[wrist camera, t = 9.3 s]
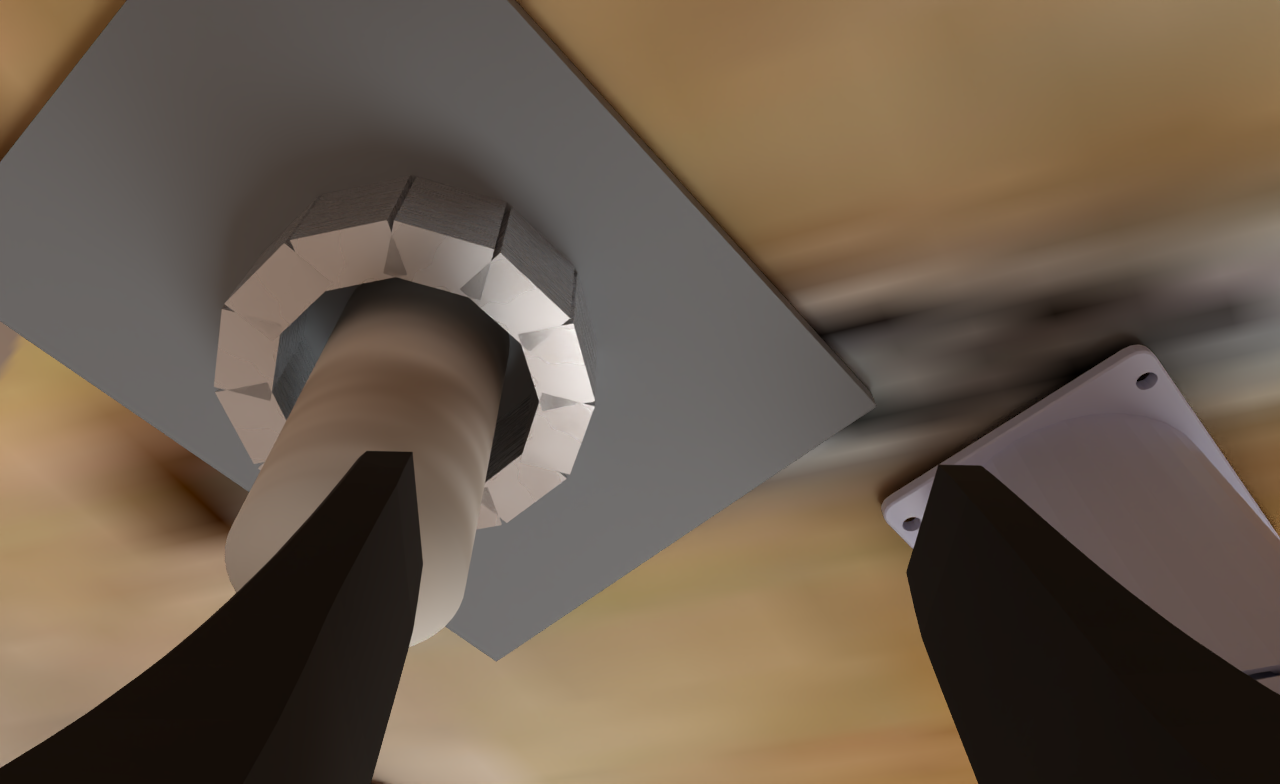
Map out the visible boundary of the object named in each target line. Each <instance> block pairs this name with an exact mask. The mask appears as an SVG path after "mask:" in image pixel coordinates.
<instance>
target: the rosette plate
mask: <svg viewBox="0 0 1280 784" xmlns="http://www.w3.org/2000/svg"><path fill="white" fill-rule="evenodd" d="M409 175H411V178H412V181H413V182H414V180H415V178H416V176H420V177H423V178H427V179H430V180H434V181H437V182H440V183H444V184H447V185H450V186H454V187H457V188H460V189H464V190H467V191H470V192H474V193H477V194H480V195H484V196H487V197H490V198H494V199H497V200H500V201H504V202H507V203H506V207H505V211H504V213H505V212H506V211H507V210H508V209H509V208H510V207H511V206H513V207H514V208H515V209H516V210H517V211H518V212H519V213H520V214H521V215H522V216H523V217H524V218H525V219H526V220H527V221H529V222H530V223H531V224H532V225H533V226H534V227H535V228H536V229H537V230H538V231H539V232H540V233H541V234H542V235H543V236H544V237H545V238H546V239H547V240H548V241H549V242H550V243H551V244H552V245H553V246H554V247H555V248H556V249H557V250H558V251H559V252H560V253H561V254H562V255H563V256H564V257H565V258H566V259H568V260H569V261H570V262H571V263H572V264H573V265H574V266H575V268H574V272H577V271H578V275H579V279H580V282H581V286H582V290H583V294H584V297H585V301H586V305H587V309H588V312H589V316H590V320H591V324H592V327H593V331H594V335H595V339H596V342H597V360H596V389H595V407H594V410H593V413H592V416H591V418H590V421H589V424H588V427H587V429H586V432H585V435H584V437H583V440H582V443H581V446H580V448H579V451H578V454H577V457H576V459H575V462H574V465H573V467H572V470H571V473H570V475H569V474H567V479H566V480H564V481H563V482H562V483H560V484H559V485H558V486H556V487H555V488H553V489H552V490H551V491H549V492H548V493H547V494H545V495H544V496H543V497H541V498H540V499H539V500H537V501H536V502H535V503H533V504H532V505H531V506H529V507H528V508H526V509H525V510H524V511H522V512H521V513H520V514H518V515H517V516H516V517H514V518H513V519H512V520H510V521H509V522H508V523H506V522H505V521H504V520H503V521H502V525H499V526H494V527H488V528H482V529H476V534H475V539H474V545H473V550H472V555H471V561H470V566H469V571H468V577H467V582H466V588H465V592H464V597H463V600H462V602H461V604H460V607H459V609H458V610H457V612H456V614H455V615H454V617H453V618H452V619H451V620H450V621H449V622H448V624H447V625H446V626H445V627H447V628H448V629H450V630H451V631H453V632H454V633H456V634H457V635H458V636H460V637H461V638H463V639H464V640H466V641H467V642H469V643H470V644H472V645H473V646H474V647H476V648H477V649H479V650H480V651H482V652H483V653H485V654H486V655H488V656H489V657H491V658H492V659H493V660H495V661H498V660H499V659H501V658H502V657H504V656H505V655H507V654H508V653H510V652H511V651H513V650H514V649H516V648H517V647H519V646H520V645H522V644H523V643H525V642H526V641H528V640H529V639H531V638H532V637H534V636H535V635H537V634H538V633H540V632H541V631H543V630H544V629H546V628H547V627H549V626H550V625H552V624H553V623H554V622H556V621H557V620H559V619H560V618H562V617H563V616H565V615H566V614H568V613H569V612H571V611H572V610H574V609H575V608H577V607H578V606H580V605H581V604H583V603H584V602H586V601H587V600H589V599H590V598H592V597H593V596H595V595H596V594H598V593H599V592H601V591H602V590H604V589H605V588H607V587H608V586H610V585H611V584H613V583H614V582H616V581H617V580H619V579H620V578H622V577H623V576H624V575H626V574H627V573H629V572H630V571H632V570H633V569H635V568H636V567H638V566H639V565H641V564H642V563H644V562H645V561H647V560H648V559H650V558H651V557H653V556H654V555H656V554H657V553H659V552H660V551H662V550H663V549H665V548H666V547H668V546H669V545H671V544H672V543H674V542H675V541H677V540H678V539H680V538H681V537H683V536H684V535H686V534H687V533H689V532H690V531H692V530H693V529H694V528H696V527H697V526H699V525H700V524H702V523H703V522H705V521H706V520H708V519H709V518H711V517H712V516H714V515H715V514H717V513H718V512H720V511H721V510H723V509H724V508H726V507H727V506H729V505H730V504H732V503H733V502H735V501H736V500H738V499H739V498H741V497H742V496H744V495H745V494H747V493H748V492H750V491H751V490H753V489H754V488H756V487H757V486H759V485H760V484H762V483H763V482H765V481H766V480H767V479H769V478H770V477H772V476H773V475H775V474H776V473H778V472H779V471H781V470H782V469H784V468H785V467H787V466H788V465H790V464H791V463H793V462H794V461H796V460H797V459H799V458H800V457H802V456H803V455H805V454H806V453H808V452H809V451H811V450H812V449H814V448H815V447H817V446H818V445H820V444H821V443H823V442H824V441H826V440H827V439H829V438H830V437H832V436H833V435H835V434H836V433H837V432H839V431H840V430H842V429H843V428H845V427H846V426H848V425H849V424H851V423H852V422H854V421H855V420H857V419H858V418H860V417H861V416H863V415H864V414H866V413H867V412H869V411H870V410H872V409H873V408H875V407H876V406H877V405H876V403H875V401H874V398H873V396H872V394H871V392H870V391H869V390H868V389H867V388H866V387H865V386H864V385H863V383H862V382H861V381H860V380H859V379H858V378H857V377H856V376H855V375H854V374H853V372H852V371H851V370H850V369H849V368H848V367H847V366H846V365H845V364H844V363H843V361H842V360H841V359H840V358H839V357H838V356H837V355H836V354H835V353H834V351H833V350H832V349H831V348H830V347H829V346H828V345H827V344H826V343H825V342H824V340H823V339H822V338H821V337H820V336H819V335H818V334H817V333H816V332H815V331H814V329H813V328H812V327H811V326H810V325H809V324H808V323H807V322H806V321H805V319H804V318H803V317H802V316H801V315H800V314H799V313H798V312H797V311H796V310H795V308H794V307H793V306H792V305H791V304H790V303H789V302H788V301H787V300H786V299H785V297H784V296H783V295H782V294H781V293H780V292H779V291H778V290H777V289H776V287H775V286H774V285H773V284H772V283H771V282H770V281H769V280H768V279H767V278H766V276H765V275H764V274H763V273H762V272H761V271H760V270H759V269H758V268H757V267H756V265H755V264H754V263H753V262H752V261H751V260H750V259H749V258H748V257H747V255H746V254H745V253H744V252H743V251H742V250H741V249H740V248H739V247H738V246H737V244H736V243H735V242H734V241H733V240H732V239H731V238H730V237H729V236H728V235H727V233H726V232H725V231H724V230H723V229H722V228H721V227H720V226H719V225H718V223H717V222H716V221H715V220H714V219H713V218H712V217H711V216H710V215H709V214H708V212H707V211H706V210H705V209H704V208H703V207H702V206H701V205H700V204H699V203H698V201H697V200H696V199H695V198H694V197H693V196H692V195H691V194H690V193H689V191H688V190H687V189H686V188H685V187H684V186H683V185H682V184H681V183H680V182H679V180H678V179H677V178H676V177H675V176H674V175H673V174H672V173H671V172H670V171H669V169H668V168H667V167H666V166H665V165H664V164H663V163H662V162H661V161H660V159H659V158H658V157H657V156H656V155H655V154H654V153H653V152H652V151H651V150H650V148H649V147H648V146H647V145H646V144H645V143H644V142H643V141H642V140H641V139H640V137H639V136H638V135H637V134H636V133H635V132H634V131H633V130H632V129H631V127H630V126H629V125H628V124H627V123H626V122H625V121H624V120H623V119H622V118H621V116H620V115H619V114H618V113H617V112H616V111H615V110H614V109H613V108H612V107H611V105H610V104H609V103H608V102H607V101H606V100H605V99H604V98H603V97H602V95H601V94H600V93H599V92H598V91H597V90H596V89H595V88H594V87H593V86H592V84H591V83H590V82H589V81H588V80H587V79H586V78H585V77H584V76H583V75H582V73H581V72H580V71H579V70H578V69H577V68H576V67H575V66H574V65H573V63H572V62H571V61H570V60H569V59H568V58H567V57H566V56H565V55H564V54H563V52H562V51H561V50H560V49H559V48H558V47H557V46H556V45H555V44H554V43H553V41H552V40H551V39H550V38H549V37H548V36H547V35H546V34H545V33H544V32H543V30H542V29H541V28H540V27H539V26H538V25H537V24H536V23H535V22H534V20H533V19H532V18H531V17H530V16H529V15H528V14H527V13H526V12H525V11H524V9H523V8H522V7H521V6H520V5H519V4H518V3H517V2H516V1H515V0H127V1H126V2H125V3H124V5H123V6H122V7H121V8H120V10H119V11H118V12H117V14H116V15H115V16H114V17H113V19H112V20H111V21H110V22H109V24H108V25H107V26H106V28H105V29H104V30H103V31H102V33H101V34H100V35H99V37H98V38H97V39H96V40H95V42H94V43H93V44H92V45H91V47H90V48H89V49H88V51H87V52H86V53H85V54H84V56H83V57H82V58H81V60H80V61H79V62H78V63H77V65H76V66H75V67H74V68H73V70H72V71H71V72H70V74H69V75H68V76H67V77H66V79H65V80H64V81H63V83H62V84H61V85H60V86H59V88H58V89H57V90H56V91H55V93H54V94H53V95H52V97H51V98H50V99H49V100H48V102H47V103H46V104H45V106H44V107H43V108H42V109H41V111H40V112H39V113H38V114H37V116H36V117H35V118H34V120H33V121H32V122H31V123H30V125H29V126H28V127H27V129H26V130H25V131H24V132H23V134H22V135H21V136H20V137H19V139H18V140H17V141H16V143H15V144H14V145H13V146H12V148H11V149H10V150H9V152H8V153H7V154H6V155H5V157H4V158H3V159H2V160H1V162H0V321H1V322H2V323H3V324H5V325H7V326H8V327H9V328H11V329H12V330H14V331H15V332H17V333H18V334H20V335H21V336H22V337H24V338H25V339H27V340H28V341H30V342H31V343H33V344H34V345H36V346H37V347H38V348H40V349H41V350H43V351H44V352H46V353H47V354H49V355H50V356H52V357H53V358H55V359H56V360H57V361H59V362H60V363H62V364H63V365H65V366H66V367H68V368H69V369H71V370H72V371H73V372H75V373H76V374H78V375H79V376H81V377H82V378H84V379H85V380H87V381H88V382H90V383H91V384H92V385H94V386H95V387H97V388H98V389H100V390H101V391H103V392H104V393H106V394H107V395H108V396H110V397H111V398H113V399H114V400H116V401H117V402H119V403H120V404H122V405H123V406H125V407H126V408H127V409H129V410H130V411H132V412H133V413H135V414H136V415H138V416H139V417H141V418H142V419H143V420H145V421H146V422H148V423H149V424H151V425H152V426H154V427H155V428H157V429H158V430H160V431H161V432H162V433H164V434H165V435H167V436H168V437H170V438H171V439H173V440H174V441H176V442H177V443H178V444H180V445H181V446H183V447H184V448H186V449H187V450H189V451H190V452H192V453H193V454H195V455H196V456H197V457H199V458H200V459H202V460H203V461H205V462H206V463H208V464H209V465H211V466H212V467H213V468H215V469H216V470H218V471H219V472H221V473H222V474H224V475H225V476H227V477H228V478H230V479H231V480H232V481H234V482H235V483H237V484H238V485H240V486H241V487H243V488H244V489H246V490H247V491H248V492H250V490H251V488H252V486H253V484H254V482H255V480H256V479H257V477H258V475H259V473H260V471H261V470H259V469H258V467H259V465H260V463H257V464H254V463H253V461H252V460H251V458H250V456H249V454H248V452H247V450H246V449H245V447H244V445H243V443H242V441H241V439H240V438H239V436H238V434H237V432H236V430H235V428H234V426H233V425H232V423H231V421H230V419H229V417H228V415H227V414H226V412H225V410H224V408H223V406H222V404H221V403H220V401H219V399H218V397H217V395H216V393H215V392H216V390H217V388H216V387H214V380H215V370H216V361H217V351H218V341H219V332H220V322H221V312H222V308H223V307H224V305H225V304H224V303H225V302H226V301H227V299H228V298H229V297H230V295H231V294H232V293H233V291H234V290H235V289H236V287H237V286H238V285H239V284H240V282H241V281H242V280H243V278H244V277H245V276H246V274H247V273H248V272H249V270H250V269H251V268H252V266H253V265H254V264H255V262H256V261H257V260H258V258H259V257H260V256H261V254H262V253H263V252H264V251H265V250H266V249H267V248H268V247H269V246H270V245H271V244H272V243H273V242H274V241H275V240H276V239H277V238H278V237H279V236H280V235H281V234H282V233H283V232H284V231H285V230H286V229H287V228H288V226H289V225H290V224H291V223H292V222H293V221H294V220H295V219H296V218H297V217H298V216H299V215H300V214H301V213H302V212H303V211H304V210H305V209H306V208H307V207H308V206H309V205H310V204H311V203H312V202H313V201H314V200H315V199H316V198H317V197H319V198H321V196H322V195H323V194H324V193H329V192H333V191H338V190H343V189H348V188H352V187H357V186H362V185H367V184H371V183H376V182H381V181H386V180H390V179H395V178H400V177H404V176H409ZM360 285H361V284H358V285H353V286H348V287H343V288H338V289H333V290H328V291H325V292H324V293H323V294H322V295H321V296H320V297H319V298H318V299H316V300H315V301H314V302H313V303H312V304H311V305H310V306H309V307H308V313H307V319H306V326H305V332H304V336H305V338H306V341H307V343H308V345H309V347H310V349H311V351H312V354H313V356H314V358H315V360H316V362H317V361H318V359H319V357H320V355H321V353H322V351H323V349H324V347H325V345H326V343H327V341H328V339H329V337H330V335H331V334H332V332H333V330H334V328H335V326H336V324H337V322H338V320H339V318H340V316H341V314H342V312H343V310H344V308H345V306H346V305H347V303H348V301H349V299H350V297H351V296H352V294H353V293H354V291H355V290H356V289H357V288H358V287H359V286H360ZM509 338H510V350H509V357H508V362H507V368H506V373H505V378H504V384H503V389H502V394H501V400H500V405H499V410H498V416H497V421H498V420H499V419H500V418H502V417H503V416H504V415H505V414H507V413H508V412H509V411H510V410H512V409H513V408H514V407H515V406H517V405H518V404H519V403H520V402H522V401H523V400H524V399H525V398H527V397H528V396H529V395H530V394H531V392H532V389H533V386H534V383H533V380H532V377H531V374H530V371H529V367H528V364H527V361H526V358H525V355H524V352H523V349H522V346H521V344H520V343H519V342H518V341H517V340H516V339H515V338H514V337H513V336H511V335H510V334H509ZM497 421H496V422H497Z"/></svg>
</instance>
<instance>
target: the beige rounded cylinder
mask: <svg viewBox="0 0 1280 784" xmlns="http://www.w3.org/2000/svg"><path fill="white" fill-rule="evenodd" d="M509 350H510V338H509V333H508V332H507V331H506V330H505V329H504V328H502V327H501V326H500V325H499V324H498V323H497V322H496V321H495V320H494V319H492V318H491V317H490V316H489V315H488V314H487V313H486V312H485V311H483V310H482V309H481V308H480V307H479V306H478V305H477V304H476V303H475V302H473V301H472V300H471V299H470V298H469V297H466V296H462V295H459V294H455V293H451V292H448V291H444V290H441V289H437V288H433V287H430V286H426V285H423V284H419V283H415V282H412V281H408V280H405V279H401V278H397V277H393V278H388V279H383V280H378V281H373V282H368V283H363V284H361V285H360V286H359V287H358V288H357V289H356V290H355V291H354V293H353V294H352V296H351V297H350V299H349V301H348V303H347V305H346V306H345V308H344V310H343V312H342V314H341V316H340V318H339V320H338V322H337V324H336V326H335V328H334V330H333V332H332V334H331V335H330V337H329V339H328V341H327V343H326V345H325V347H324V349H323V351H322V353H321V355H320V357H319V359H318V361H317V363H316V364H315V366H314V368H313V370H312V372H311V374H310V376H309V378H308V380H307V382H306V384H305V386H304V388H303V390H302V392H301V393H300V395H299V397H298V399H297V401H296V403H295V405H294V407H293V409H292V411H291V413H290V415H289V417H288V419H287V421H286V422H285V424H284V426H283V428H282V430H281V432H280V434H279V436H278V438H277V440H276V442H275V444H274V446H273V448H272V450H271V451H270V453H269V455H268V457H267V459H266V461H265V463H264V465H263V467H262V469H261V471H260V473H259V475H258V477H257V479H256V480H255V482H254V484H253V486H252V488H251V490H250V492H249V494H248V496H247V498H246V500H245V502H244V504H243V506H242V508H241V509H240V511H239V513H238V515H237V517H236V519H235V521H234V523H233V525H232V527H231V529H230V532H229V534H228V537H227V541H226V546H225V563H226V569H227V573H228V576H229V579H230V582H231V583H232V585H233V587H234V589H235V591H236V593H237V592H238V591H239V590H240V589H241V588H242V587H243V586H244V585H245V584H246V583H247V582H248V581H249V580H250V579H251V578H252V577H253V576H254V575H255V574H256V573H257V572H258V571H259V570H260V569H261V568H262V567H263V566H264V565H265V564H266V563H267V562H268V561H269V560H270V559H271V558H272V557H273V556H274V555H275V554H276V553H277V552H278V551H279V550H280V549H281V548H282V546H283V545H284V544H285V543H286V542H287V541H288V540H289V539H290V538H291V537H292V535H293V534H294V533H295V532H296V531H297V530H298V529H299V528H300V527H301V526H302V524H303V523H304V522H305V521H306V520H307V519H308V518H309V517H310V516H311V514H312V513H313V512H314V511H315V510H316V509H317V507H318V506H319V505H320V504H321V503H322V502H323V500H324V499H325V498H326V497H327V496H328V495H329V493H330V492H331V491H332V490H333V489H334V487H335V486H336V485H337V484H338V483H339V481H340V480H341V479H342V478H343V476H344V475H345V474H346V473H347V471H348V470H349V469H350V468H351V467H352V465H353V464H354V463H355V462H356V460H357V459H358V458H359V457H360V456H361V455H362V454H363V453H365V452H366V451H399V452H413V461H414V472H415V483H416V493H417V504H418V515H419V525H420V536H421V547H422V557H423V569H422V576H421V583H420V589H419V596H418V603H417V609H416V616H415V622H414V628H413V633H412V637H411V641H410V645H409V647H411V646H414V645H416V644H418V643H420V642H422V641H425V640H427V639H428V638H430V637H431V636H433V635H435V634H436V633H437V632H439V631H440V630H441V629H442V628H444V627H445V626H446V625H447V624H448V622H449V621H450V620H451V619H452V618H453V617H454V615H455V614H456V612H457V610H458V609H459V607H460V604H461V602H462V600H463V597H464V592H465V588H466V582H467V577H468V571H469V566H470V561H471V555H472V550H473V545H474V539H475V534H476V528H477V523H478V518H479V512H480V507H481V502H482V496H483V491H484V486H485V480H486V475H487V469H488V464H489V459H490V453H491V448H492V443H493V437H494V432H495V427H496V421H497V416H498V410H499V405H500V400H501V394H502V389H503V384H504V378H505V373H506V368H507V362H508V357H509Z"/></svg>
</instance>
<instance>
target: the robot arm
mask: <svg viewBox="0 0 1280 784" xmlns="http://www.w3.org/2000/svg"><path fill="white" fill-rule="evenodd" d="M1147 372H1150V373H1149V375H1148V376H1147V377H1146V378H1145V379H1144V380H1141V381H1139V382H1138V381H1137V379H1138V378H1139V377H1140V376H1141V375H1142V374H1145V373H1147ZM881 511H882V514H883V517H884V519H885V520H886V522H887V523H888V524H889V525H890V526H891V527H892V528H893V529H894V530H895V531H896V532H897V533H898V534H899V535H900V536H901V537H902V538H903V539H904V540H905V542H906V543H907V544H908V545H909V546H910V547H911V548H912V549H913V552H912V555H911V558H910V562H909V565H908V569H907V572H906V573H907V577H908V582H909V586H910V591H911V595H912V600H913V604H914V609H915V613H916V617H917V620H918V624H919V628H920V632H921V636H922V639H923V642H924V645H925V648H926V650H927V653H928V656H929V658H930V661H931V663H932V666H933V669H934V671H935V674H936V677H937V679H938V682H939V684H940V687H941V690H942V692H943V695H944V697H945V700H946V702H947V705H948V707H949V710H950V713H951V715H952V718H953V720H954V723H955V725H956V728H957V730H958V733H959V735H960V738H961V741H962V743H963V746H964V748H965V751H966V753H967V756H968V758H969V761H970V763H971V766H972V769H973V771H974V774H975V776H976V779H977V781H978V784H1280V537H1279V536H1278V534H1277V533H1276V531H1275V530H1274V528H1273V527H1272V525H1271V524H1270V522H1269V521H1268V520H1267V518H1266V517H1265V515H1264V514H1263V512H1262V511H1261V509H1260V508H1259V506H1258V505H1257V503H1256V502H1255V501H1254V499H1253V498H1252V496H1251V495H1250V493H1249V492H1248V490H1247V489H1246V487H1245V486H1244V484H1243V483H1242V481H1241V480H1240V479H1239V477H1238V476H1237V474H1236V473H1235V471H1234V470H1233V468H1232V467H1231V465H1230V464H1229V462H1228V461H1227V460H1226V458H1225V457H1224V455H1223V454H1222V452H1221V451H1220V449H1219V448H1218V446H1217V445H1216V443H1215V442H1214V440H1213V439H1212V438H1211V436H1210V435H1209V433H1208V432H1207V430H1206V429H1205V427H1204V426H1203V424H1202V423H1201V421H1200V420H1199V419H1198V417H1197V416H1196V414H1195V413H1194V411H1193V410H1192V408H1191V407H1190V405H1189V404H1188V402H1187V401H1186V399H1185V398H1184V397H1183V395H1182V394H1181V392H1180V391H1179V389H1178V388H1177V386H1176V385H1175V383H1174V382H1173V380H1172V379H1171V378H1170V376H1169V375H1168V373H1167V372H1166V370H1165V369H1164V367H1163V366H1162V364H1161V363H1160V361H1159V360H1158V358H1157V357H1156V356H1155V355H1154V354H1153V353H1152V351H1151V350H1149V349H1148V348H1147V347H1146V346H1143V345H1139V344H1138V345H1130V346H1128V347H1126V348H1124V349H1122V350H1120V351H1119V352H1117V353H1116V354H1114V355H1112V356H1111V357H1109V358H1108V359H1106V360H1104V361H1103V362H1101V363H1100V364H1098V365H1096V366H1095V367H1093V368H1092V369H1090V370H1088V371H1087V372H1085V373H1084V374H1082V375H1081V376H1079V377H1077V378H1076V379H1074V380H1073V381H1071V382H1069V383H1068V384H1066V385H1065V386H1063V387H1061V388H1060V389H1058V390H1057V391H1055V392H1053V393H1052V394H1050V395H1049V396H1047V397H1045V398H1044V399H1042V400H1041V401H1039V402H1038V403H1036V404H1034V405H1033V406H1031V407H1030V408H1028V409H1026V410H1025V411H1023V412H1022V413H1020V414H1018V415H1017V416H1015V417H1014V418H1012V419H1010V420H1009V421H1007V422H1006V423H1004V424H1002V425H1001V426H999V427H998V428H996V429H995V430H993V431H991V432H990V433H988V434H987V435H985V436H983V437H982V438H980V439H979V440H977V441H975V442H974V443H972V444H971V445H969V446H967V447H966V448H964V449H963V450H961V451H960V452H958V453H956V454H955V455H953V456H952V457H950V458H948V459H947V460H945V461H944V462H942V463H940V464H939V465H937V466H936V467H934V468H932V469H931V470H929V471H928V472H926V473H924V474H923V475H921V476H920V477H918V478H917V479H915V480H913V481H912V482H910V483H909V484H907V485H905V486H904V487H902V488H901V489H899V490H897V491H896V492H894V493H893V494H891V495H889V496H888V497H887V498H886V499H885V500H884V501H883V503H882V505H881ZM910 517H916V518H915V519H914V520H913V521H910V522H904V521H905V520H906V519H908V518H910ZM422 569H423V557H422V547H421V536H420V525H419V515H418V504H417V493H416V483H415V472H414V461H413V452H399V451H366V452H365V453H363V454H362V455H361V456H360V457H359V458H358V459H357V460H356V462H355V463H354V464H353V465H352V467H351V468H350V469H349V470H348V471H347V473H346V474H345V475H344V476H343V478H342V479H341V480H340V481H339V483H338V484H337V485H336V486H335V487H334V489H333V490H332V491H331V492H330V493H329V495H328V496H327V497H326V498H325V499H324V500H323V502H322V503H321V504H320V505H319V506H318V507H317V509H316V510H315V511H314V512H313V513H312V514H311V516H310V517H309V518H308V519H307V520H306V521H305V522H304V523H303V524H302V526H301V527H300V528H299V529H298V530H297V531H296V532H295V533H294V534H293V535H292V537H291V538H290V539H289V540H288V541H287V542H286V543H285V544H284V545H283V546H282V548H281V549H280V550H279V551H278V552H277V553H276V554H275V555H274V556H273V557H272V558H271V559H270V560H269V561H268V562H267V563H266V564H265V565H264V566H263V567H262V568H261V569H260V570H259V571H258V572H257V573H256V574H255V575H254V576H253V577H252V578H251V579H250V580H249V581H248V582H247V583H246V584H245V585H244V586H243V587H242V588H241V589H240V590H239V591H238V592H237V593H236V594H235V595H234V596H233V597H232V598H231V599H230V600H229V601H228V602H227V603H225V604H224V605H223V606H222V607H221V608H220V609H219V610H218V611H217V612H216V613H215V614H213V615H212V616H211V617H210V618H209V619H208V620H207V621H206V622H205V623H203V624H202V625H201V626H200V627H199V628H198V629H196V630H195V631H194V632H193V633H192V634H191V635H189V636H188V637H187V638H186V639H185V640H183V641H182V642H181V643H180V644H179V645H177V646H176V647H175V648H174V649H173V650H171V651H170V652H169V653H168V654H167V655H165V656H164V657H163V658H162V659H160V660H159V661H158V662H156V663H155V664H154V665H152V666H151V667H150V668H149V669H147V670H146V671H145V672H143V673H142V674H141V675H139V676H138V677H137V678H135V679H134V680H132V681H131V682H130V683H128V684H127V685H126V686H124V687H123V688H121V689H120V690H119V691H117V692H116V693H115V694H113V695H112V696H110V697H109V698H108V699H106V700H105V701H103V702H102V703H101V704H99V705H98V706H97V707H95V708H94V709H92V710H91V711H90V712H88V713H87V714H85V715H84V716H82V717H81V718H79V719H78V720H76V721H75V722H73V723H71V724H70V725H68V726H67V727H65V728H64V729H62V730H61V731H59V732H58V733H56V734H54V735H53V736H51V737H50V738H48V739H47V740H45V741H44V742H42V743H40V744H39V745H37V746H35V747H34V748H32V749H31V750H29V751H27V752H26V753H24V754H22V755H21V756H19V757H18V758H16V759H14V760H13V761H11V762H9V763H8V764H6V765H4V766H3V767H1V768H0V784H371V780H372V777H373V773H374V770H375V766H376V763H377V759H378V756H379V752H380V748H381V745H382V741H383V738H384V734H385V731H386V727H387V724H388V720H389V717H390V713H391V709H392V706H393V702H394V699H395V695H396V692H397V688H398V685H399V681H400V677H401V674H402V670H403V666H404V663H405V659H406V656H407V652H408V648H409V645H410V641H411V637H412V633H413V628H414V622H415V616H416V609H417V603H418V596H419V589H420V583H421V576H422Z"/></svg>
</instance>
